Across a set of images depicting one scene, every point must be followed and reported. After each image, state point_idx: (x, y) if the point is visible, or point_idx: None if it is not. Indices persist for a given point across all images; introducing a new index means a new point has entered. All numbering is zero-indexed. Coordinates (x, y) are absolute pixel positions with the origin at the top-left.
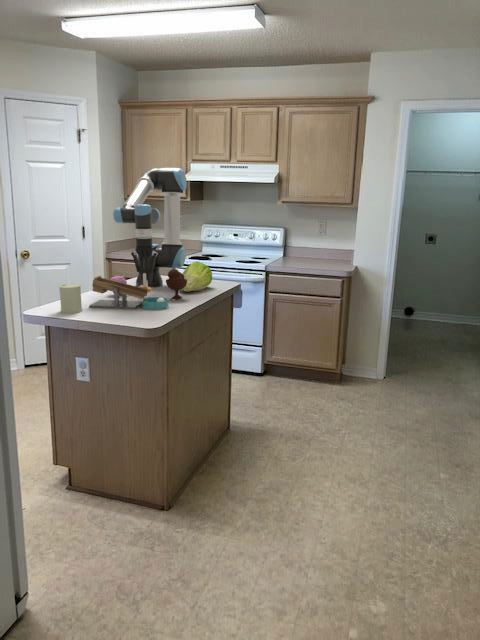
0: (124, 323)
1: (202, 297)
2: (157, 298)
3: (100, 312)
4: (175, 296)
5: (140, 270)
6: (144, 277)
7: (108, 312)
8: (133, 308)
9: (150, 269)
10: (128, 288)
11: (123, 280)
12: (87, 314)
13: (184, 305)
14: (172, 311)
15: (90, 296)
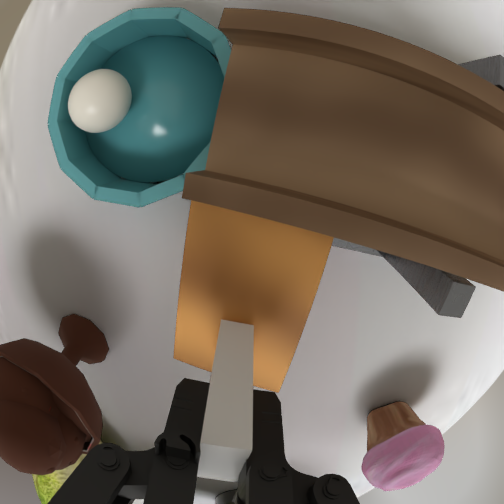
0: None
1: (8, 339)
2: (127, 188)
3: (464, 22)
4: (78, 337)
5: (292, 498)
6: (229, 403)
7: (430, 6)
8: None
9: (100, 484)
10: (408, 226)
11: (387, 464)
12: (494, 12)
13: (13, 171)
14: (62, 20)
15: (484, 368)
